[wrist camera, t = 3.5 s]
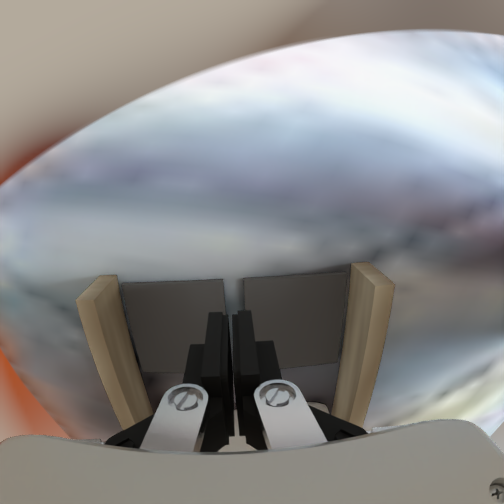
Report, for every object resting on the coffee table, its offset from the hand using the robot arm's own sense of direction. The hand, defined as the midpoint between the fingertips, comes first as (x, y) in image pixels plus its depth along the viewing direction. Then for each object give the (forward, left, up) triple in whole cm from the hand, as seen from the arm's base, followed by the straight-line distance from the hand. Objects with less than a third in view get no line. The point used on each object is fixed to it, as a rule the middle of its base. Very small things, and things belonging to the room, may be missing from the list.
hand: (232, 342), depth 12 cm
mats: (0, +2, -4) cm, 4 cm away
